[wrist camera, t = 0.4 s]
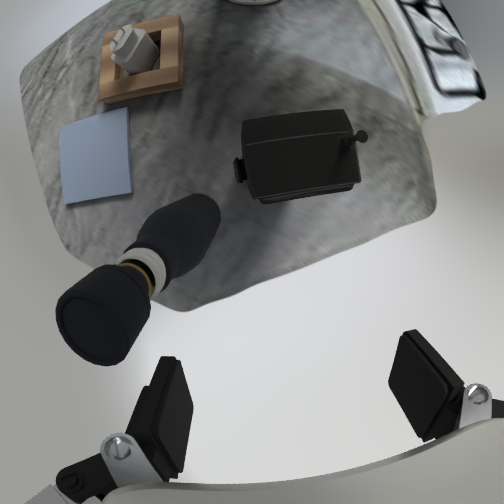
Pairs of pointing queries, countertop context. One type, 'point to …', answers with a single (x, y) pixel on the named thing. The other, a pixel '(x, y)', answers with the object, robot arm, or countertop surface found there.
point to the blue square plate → (96, 157)
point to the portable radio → (299, 155)
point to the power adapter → (133, 50)
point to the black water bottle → (135, 281)
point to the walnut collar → (149, 82)
